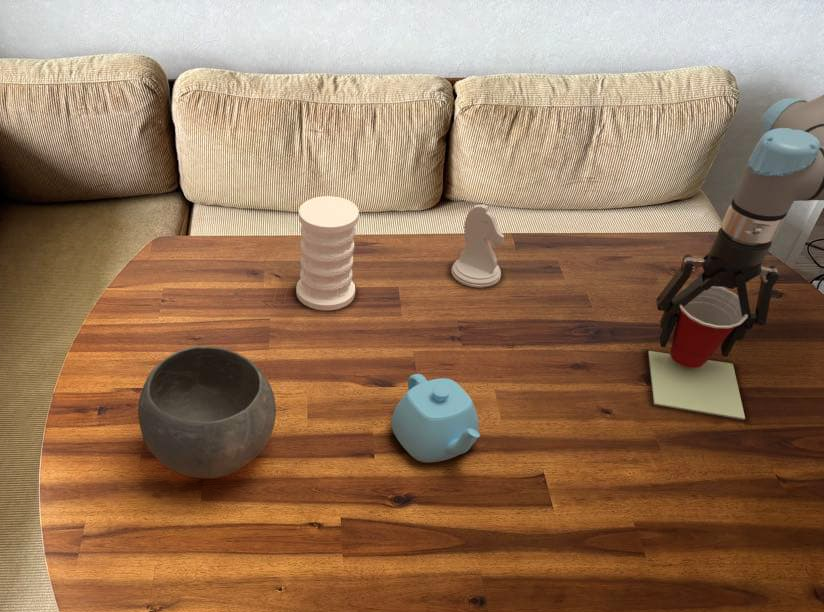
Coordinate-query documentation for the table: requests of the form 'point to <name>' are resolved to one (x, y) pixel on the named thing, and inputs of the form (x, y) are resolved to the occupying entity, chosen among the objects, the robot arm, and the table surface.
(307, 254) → the decorative container
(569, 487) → the table surface
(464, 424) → the teapot
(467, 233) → the chess piece
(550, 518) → the table surface
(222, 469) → the bowl
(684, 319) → the plastic cup
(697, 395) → the mat
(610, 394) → the table surface
